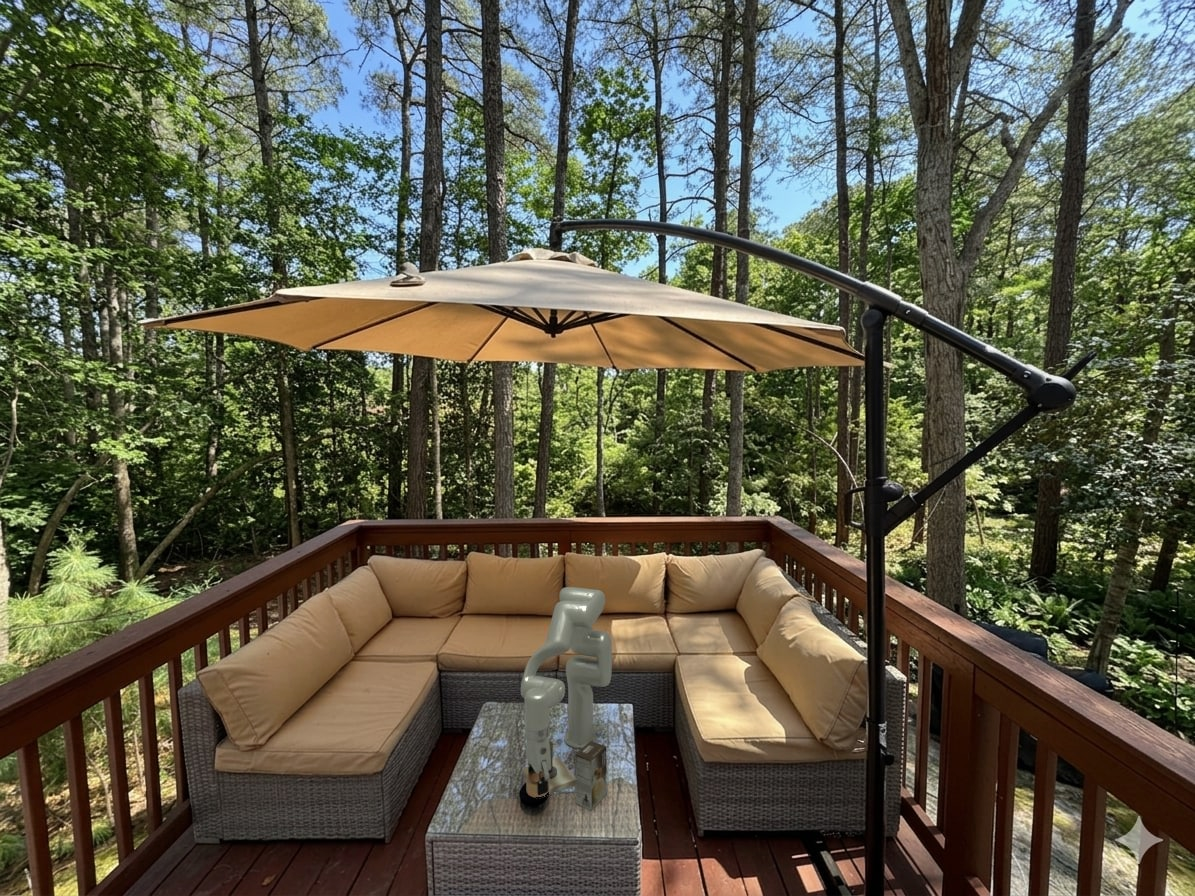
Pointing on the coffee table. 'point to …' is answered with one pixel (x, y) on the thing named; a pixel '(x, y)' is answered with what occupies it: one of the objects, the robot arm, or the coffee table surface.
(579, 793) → the coffee box
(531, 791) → the beige thick ring
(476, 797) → the coffee table surface
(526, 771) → the post board
